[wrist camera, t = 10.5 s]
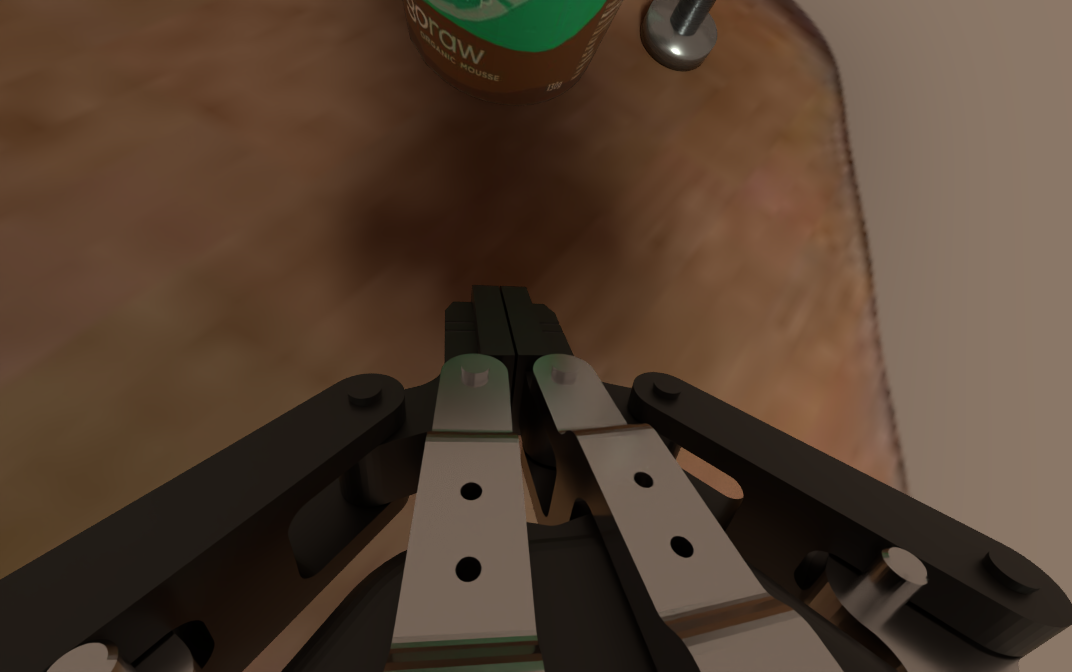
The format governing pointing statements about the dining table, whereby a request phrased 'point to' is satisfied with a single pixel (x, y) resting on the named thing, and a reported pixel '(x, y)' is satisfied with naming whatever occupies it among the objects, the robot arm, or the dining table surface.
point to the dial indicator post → (679, 32)
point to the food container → (509, 44)
